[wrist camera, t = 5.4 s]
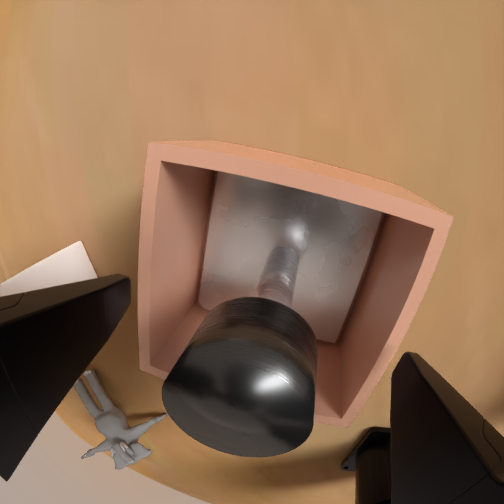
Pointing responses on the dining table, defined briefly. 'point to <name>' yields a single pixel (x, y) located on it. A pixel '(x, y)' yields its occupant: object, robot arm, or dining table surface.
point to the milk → (52, 271)
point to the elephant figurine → (113, 425)
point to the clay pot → (305, 178)
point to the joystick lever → (266, 313)
